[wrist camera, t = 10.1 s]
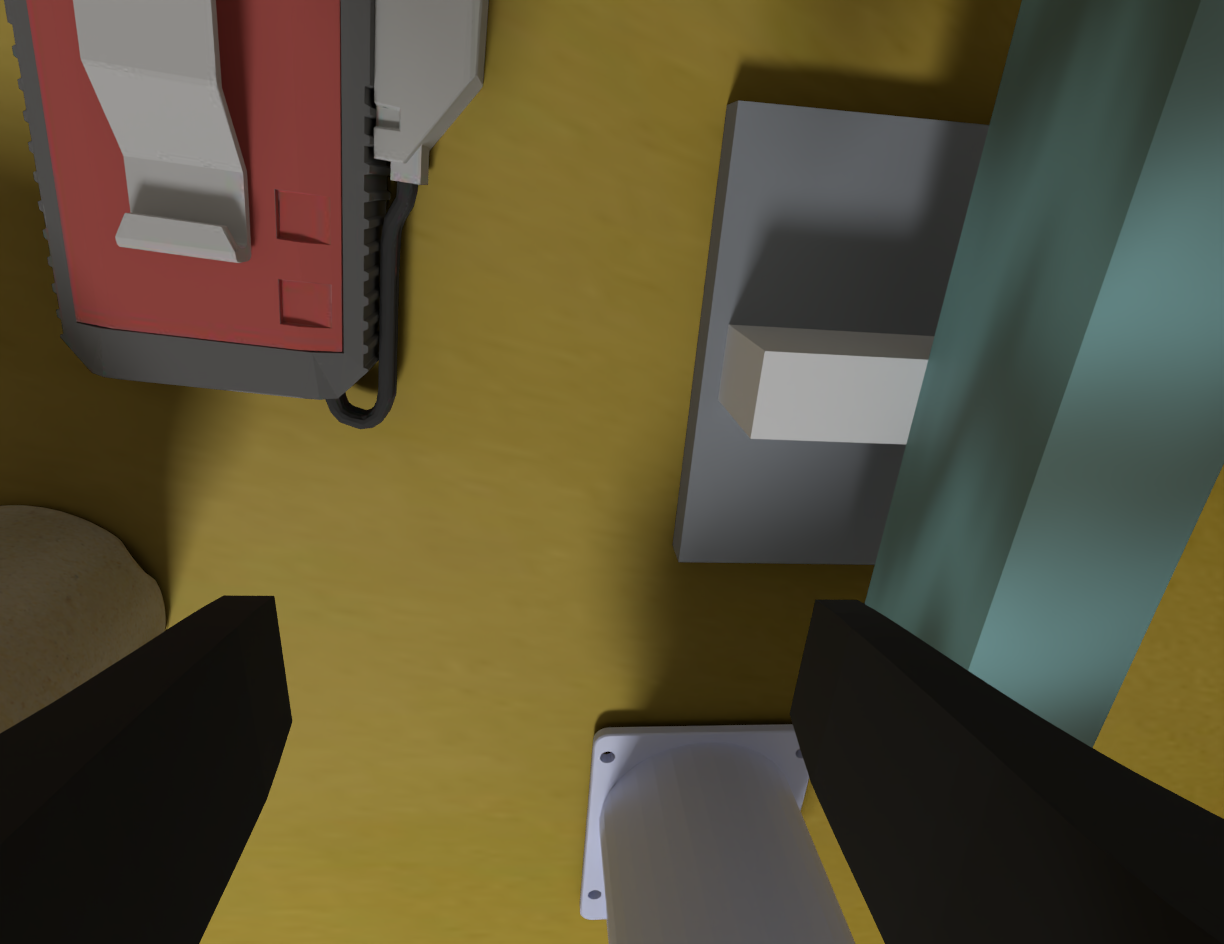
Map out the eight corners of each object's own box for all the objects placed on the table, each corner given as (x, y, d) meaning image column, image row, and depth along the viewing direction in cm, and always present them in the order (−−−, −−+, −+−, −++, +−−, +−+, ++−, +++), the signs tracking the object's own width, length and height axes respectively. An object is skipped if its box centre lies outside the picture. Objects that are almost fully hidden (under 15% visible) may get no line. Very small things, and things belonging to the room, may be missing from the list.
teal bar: (962, 683, 19) (1066, 805, 15) (843, 684, 18) (919, 809, 15) (1199, 0, 12) (1472, -76, 9) (1027, -21, 12) (1240, -111, 8)
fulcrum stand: (1029, 551, 22) (1126, 623, 18) (672, 545, 21) (701, 622, 17) (1174, 148, 17) (1343, 139, 14) (726, 105, 16) (782, 81, 12)
